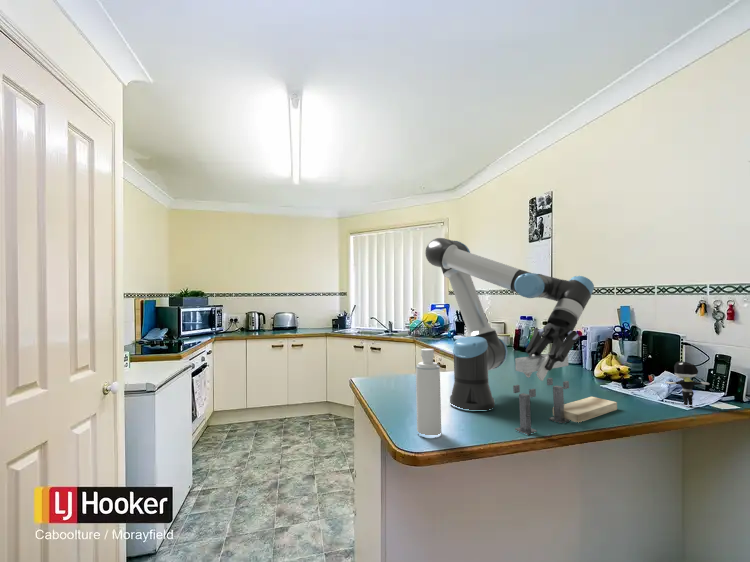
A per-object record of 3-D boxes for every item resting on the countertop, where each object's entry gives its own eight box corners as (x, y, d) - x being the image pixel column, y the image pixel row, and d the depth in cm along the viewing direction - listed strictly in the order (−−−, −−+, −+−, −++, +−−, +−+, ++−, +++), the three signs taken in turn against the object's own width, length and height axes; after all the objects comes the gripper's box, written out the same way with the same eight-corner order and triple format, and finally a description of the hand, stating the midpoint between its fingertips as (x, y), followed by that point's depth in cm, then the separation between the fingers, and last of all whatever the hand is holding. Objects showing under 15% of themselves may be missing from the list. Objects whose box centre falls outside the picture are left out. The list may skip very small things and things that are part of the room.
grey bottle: (423, 427, 98) (421, 341, 100) (445, 432, 95) (443, 343, 96) (412, 435, 93) (411, 344, 94) (435, 441, 89) (433, 345, 91)
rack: (512, 429, 96) (510, 386, 97) (554, 416, 106) (552, 377, 107) (530, 436, 91) (528, 390, 92) (572, 422, 101) (570, 380, 102)
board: (552, 415, 108) (552, 407, 108) (591, 403, 119) (591, 396, 119) (578, 422, 101) (578, 414, 101) (617, 409, 112) (616, 402, 112)
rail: (515, 370, 96) (515, 358, 96) (557, 363, 106) (557, 352, 106) (526, 373, 93) (526, 360, 93) (568, 365, 103) (568, 354, 103)
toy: (701, 404, 117) (698, 360, 117) (717, 409, 111) (714, 363, 111) (659, 403, 118) (657, 360, 119) (673, 409, 112) (670, 363, 113)
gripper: (597, 326, 100) (566, 391, 91) (545, 322, 114) (514, 378, 105) (587, 309, 97) (554, 373, 88) (535, 307, 112) (502, 362, 103)
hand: (532, 375), depth 97 cm, fingers closed on rail, 3 cm apart
